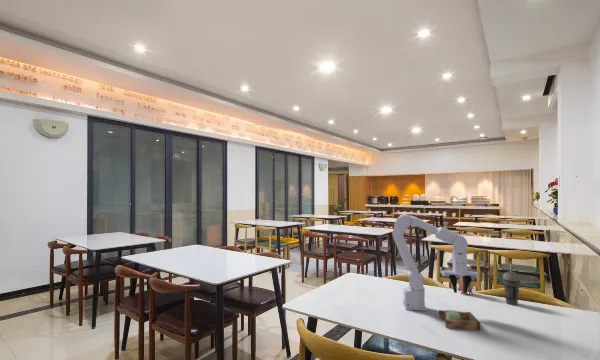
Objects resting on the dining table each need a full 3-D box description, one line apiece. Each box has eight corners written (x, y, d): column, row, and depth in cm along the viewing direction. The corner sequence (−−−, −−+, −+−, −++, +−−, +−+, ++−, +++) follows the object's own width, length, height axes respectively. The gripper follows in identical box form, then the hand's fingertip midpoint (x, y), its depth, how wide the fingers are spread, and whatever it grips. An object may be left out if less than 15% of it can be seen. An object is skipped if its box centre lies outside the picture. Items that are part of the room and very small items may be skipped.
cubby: (446, 327, 125) (446, 320, 125) (439, 317, 135) (439, 310, 135) (480, 330, 123) (480, 322, 123) (470, 319, 133) (470, 312, 133)
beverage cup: (504, 305, 149) (504, 263, 150) (501, 299, 156) (500, 260, 157) (522, 307, 147) (522, 264, 147) (518, 301, 153) (517, 261, 154)
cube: (448, 325, 128) (448, 314, 128) (445, 320, 132) (445, 309, 132) (460, 326, 127) (460, 315, 127) (456, 321, 131) (456, 310, 132)
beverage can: (456, 291, 169) (456, 263, 169) (467, 291, 169) (466, 263, 170) (463, 295, 163) (463, 266, 163) (474, 295, 163) (473, 266, 164)
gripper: (445, 263, 137) (445, 294, 137) (480, 264, 135) (481, 296, 135) (440, 259, 144) (441, 289, 144) (474, 261, 142) (474, 291, 141)
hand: (460, 292), depth 140 cm, fingers open, 3 cm apart
